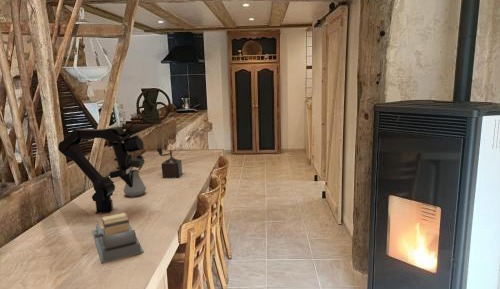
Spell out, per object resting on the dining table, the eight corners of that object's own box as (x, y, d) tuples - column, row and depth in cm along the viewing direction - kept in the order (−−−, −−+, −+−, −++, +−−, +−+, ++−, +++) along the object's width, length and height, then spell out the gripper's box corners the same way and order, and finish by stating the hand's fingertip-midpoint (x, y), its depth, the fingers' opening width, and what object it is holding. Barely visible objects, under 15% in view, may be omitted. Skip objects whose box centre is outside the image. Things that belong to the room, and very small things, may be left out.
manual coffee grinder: (183, 173, 228) (181, 145, 225) (178, 178, 217) (176, 149, 214) (159, 173, 229) (157, 146, 226) (154, 178, 218) (151, 150, 215)
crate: (104, 242, 133) (101, 217, 131) (127, 236, 137) (124, 212, 135) (107, 250, 127) (104, 223, 125) (131, 244, 130) (128, 218, 129)
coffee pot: (140, 198, 183) (138, 170, 180) (119, 198, 184) (116, 170, 181) (156, 185, 204) (154, 160, 201) (137, 185, 205) (135, 160, 202)
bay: (90, 232, 143) (88, 210, 142) (128, 224, 150) (126, 202, 149) (98, 264, 118) (95, 237, 117) (143, 252, 125) (141, 227, 123)
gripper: (127, 155, 149) (137, 190, 151) (147, 146, 167) (156, 178, 169) (104, 160, 151) (114, 194, 154) (126, 151, 169) (135, 182, 172)
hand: (131, 186), depth 162 cm, fingers closed
